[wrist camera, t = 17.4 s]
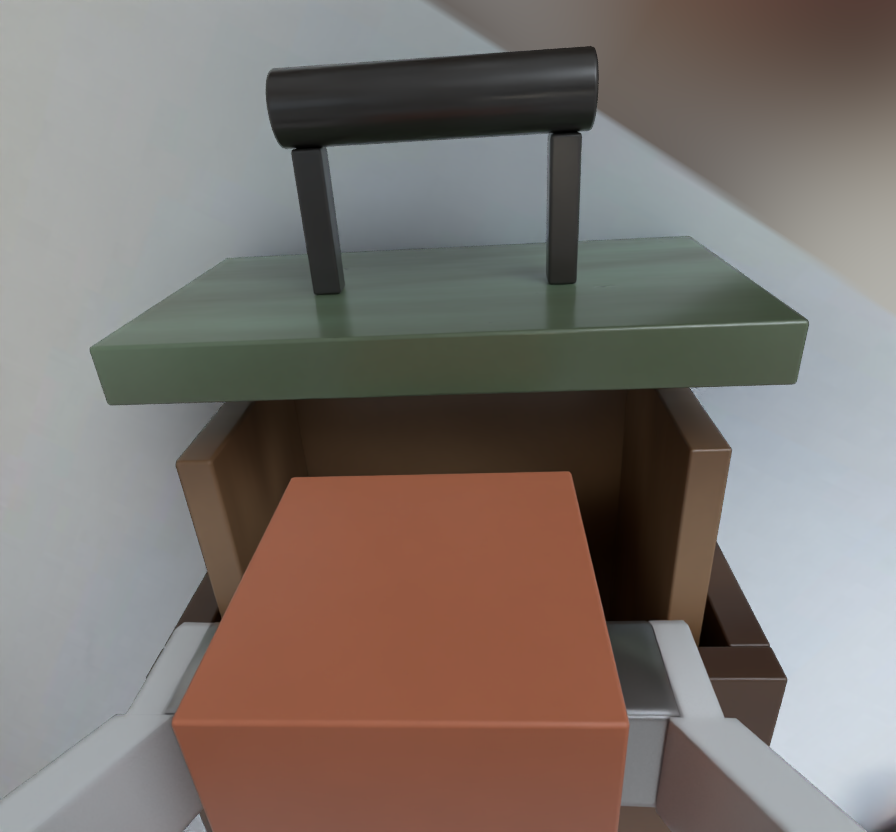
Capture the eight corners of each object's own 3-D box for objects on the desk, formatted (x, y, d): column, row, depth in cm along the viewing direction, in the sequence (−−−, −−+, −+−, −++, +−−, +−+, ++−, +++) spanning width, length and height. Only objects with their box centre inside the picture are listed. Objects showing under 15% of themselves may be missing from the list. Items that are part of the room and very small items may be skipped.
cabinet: (266, 467, 22) (144, 678, 14) (674, 457, 21) (789, 679, 13) (331, 759, 29) (274, 1006, 21) (636, 762, 28) (695, 1022, 20)
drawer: (187, 83, 16) (-6, 77, 9) (712, 46, 15) (877, 14, 8) (309, 639, 24) (249, 825, 18) (644, 638, 23) (701, 833, 17)
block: (290, 475, 10) (167, 724, 6) (571, 470, 10) (631, 726, 6) (329, 671, 12) (256, 951, 8) (563, 670, 12) (603, 962, 8)
